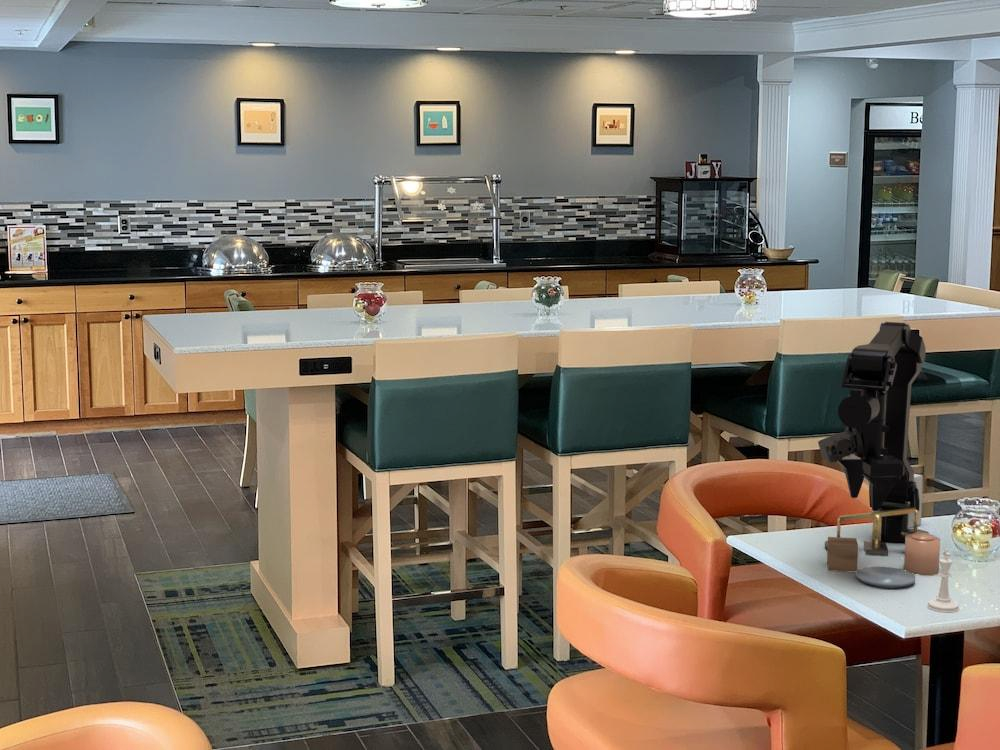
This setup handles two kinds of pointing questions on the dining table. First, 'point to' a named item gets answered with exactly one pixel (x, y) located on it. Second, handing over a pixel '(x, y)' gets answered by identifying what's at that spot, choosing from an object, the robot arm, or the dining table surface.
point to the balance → (879, 528)
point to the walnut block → (842, 554)
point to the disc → (885, 577)
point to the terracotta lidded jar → (922, 554)
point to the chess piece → (944, 588)
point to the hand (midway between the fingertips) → (864, 504)
